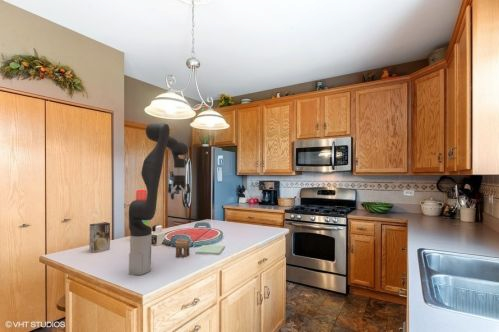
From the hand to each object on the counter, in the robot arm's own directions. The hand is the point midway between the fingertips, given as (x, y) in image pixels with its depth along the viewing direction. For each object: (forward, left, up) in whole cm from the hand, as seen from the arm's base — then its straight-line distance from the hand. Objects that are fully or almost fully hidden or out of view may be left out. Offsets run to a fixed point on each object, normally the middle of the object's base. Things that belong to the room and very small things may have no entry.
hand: (179, 199), depth 163 cm
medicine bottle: (0, +15, -29) cm, 33 cm away
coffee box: (-18, +42, -29) cm, 54 cm away
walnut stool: (-21, -11, -29) cm, 38 cm away
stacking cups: (+7, +30, -29) cm, 43 cm away
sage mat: (-10, -24, -29) cm, 39 cm away
